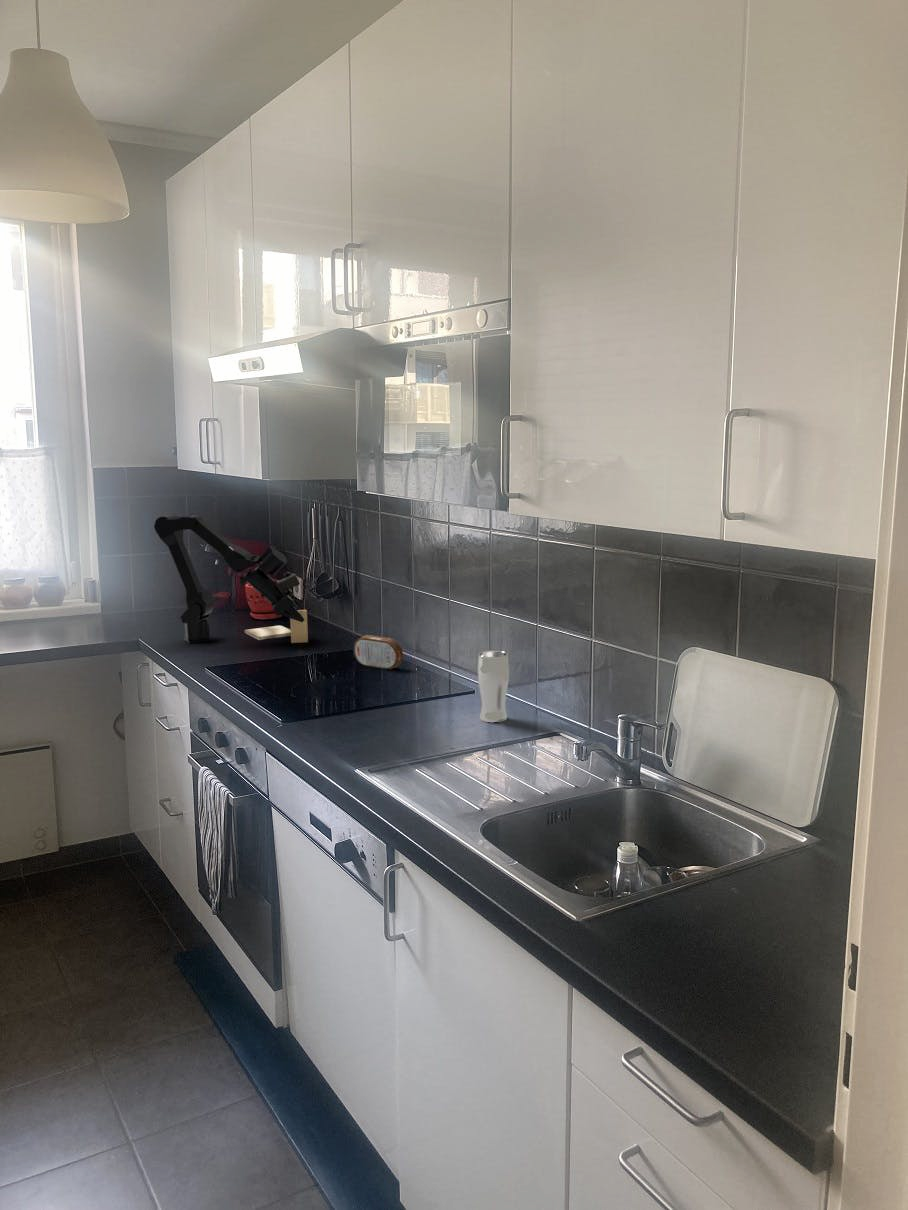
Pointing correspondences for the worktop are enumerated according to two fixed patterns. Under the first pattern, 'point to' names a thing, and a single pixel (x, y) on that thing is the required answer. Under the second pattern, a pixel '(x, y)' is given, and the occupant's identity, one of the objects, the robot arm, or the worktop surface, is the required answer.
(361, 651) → the tin
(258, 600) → the plant pot
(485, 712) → the beer glass
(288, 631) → the birch board
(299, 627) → the ochre block
